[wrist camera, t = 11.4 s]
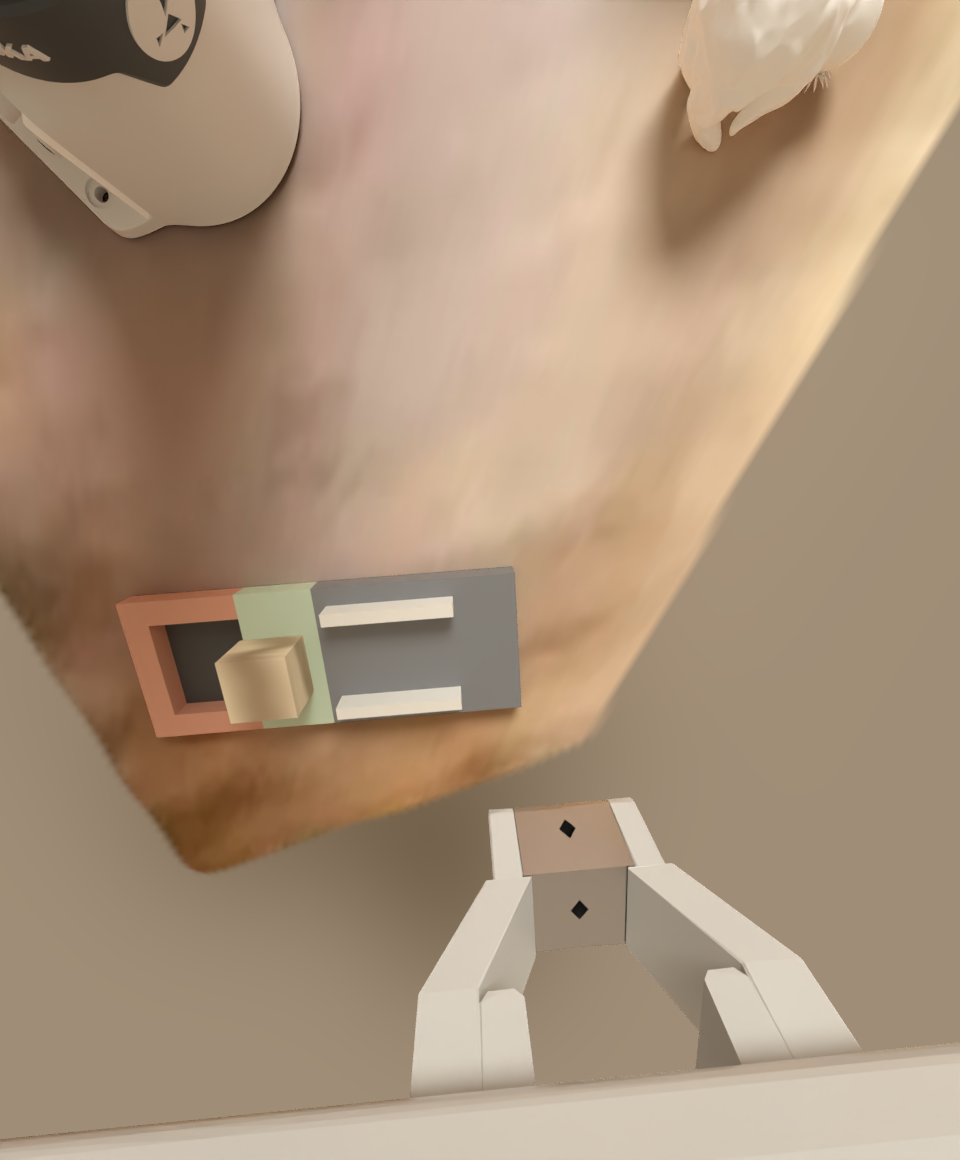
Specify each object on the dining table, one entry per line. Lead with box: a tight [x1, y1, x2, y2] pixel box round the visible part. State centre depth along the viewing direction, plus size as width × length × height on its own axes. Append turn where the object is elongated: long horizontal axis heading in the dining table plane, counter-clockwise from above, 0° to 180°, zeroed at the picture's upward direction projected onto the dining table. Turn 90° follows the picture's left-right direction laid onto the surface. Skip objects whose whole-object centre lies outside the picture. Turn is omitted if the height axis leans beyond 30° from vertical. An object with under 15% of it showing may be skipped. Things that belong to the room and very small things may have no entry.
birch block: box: [215, 635, 314, 724], centre depth 36 cm, size 5×5×4 cm
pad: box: [232, 582, 335, 729], centre depth 39 cm, size 6×12×2 cm, turn 4°
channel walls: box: [319, 596, 462, 720], centre depth 37 cm, size 10×9×2 cm
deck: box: [115, 567, 521, 738], centre depth 39 cm, size 31×12×2 cm, turn 94°
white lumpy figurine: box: [678, 0, 884, 152], centre depth 26 cm, size 6×8×12 cm
